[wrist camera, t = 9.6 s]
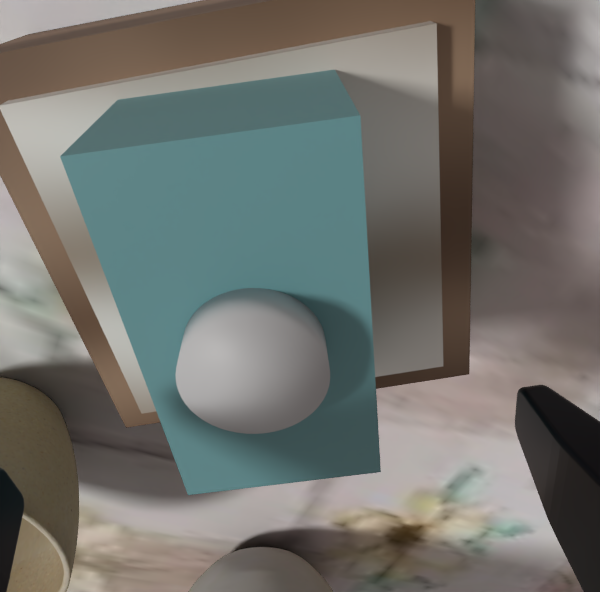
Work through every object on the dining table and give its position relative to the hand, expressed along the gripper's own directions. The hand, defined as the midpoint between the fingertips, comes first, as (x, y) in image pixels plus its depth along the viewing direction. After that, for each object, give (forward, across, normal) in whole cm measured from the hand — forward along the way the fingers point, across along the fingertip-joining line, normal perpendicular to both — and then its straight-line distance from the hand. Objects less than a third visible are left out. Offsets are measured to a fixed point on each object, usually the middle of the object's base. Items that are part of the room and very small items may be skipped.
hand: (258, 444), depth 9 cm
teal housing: (+6, 0, 0) cm, 7 cm away
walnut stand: (+12, 0, 0) cm, 12 cm away
